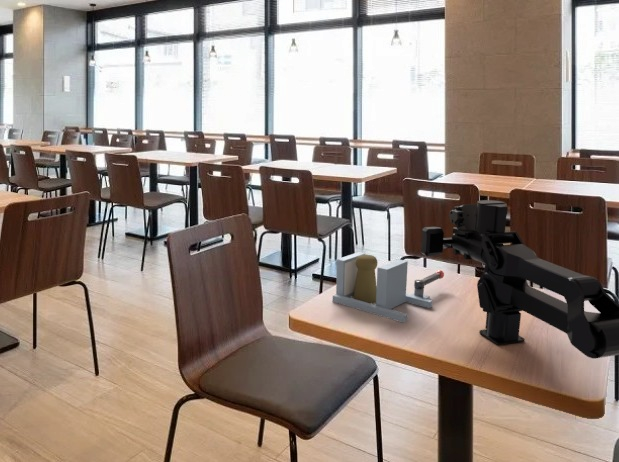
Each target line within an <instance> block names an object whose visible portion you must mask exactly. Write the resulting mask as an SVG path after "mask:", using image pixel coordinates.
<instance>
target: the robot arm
mask: <svg viewBox="0 0 619 462" xmlns="http://www.w3.org/2000/svg"><path fill="white" fill-rule="evenodd" d="M507 205H508V204H507V203H506V202H505V201H502V200H492V199H484V200H483V199H482V200H477V202H476V203H471V204H462V205H458V206H457V205H456V206H455V205H454V206H453V208H452V210H450V211H449V214H448V215H449V222H450V224H451V225H454V227H453V228H452V237H444V236H445V233H444V230H443V228H442V227H439V226H425V227H423V228H422V229H421V243H420V245H421V246H420V253H421V254H422V255H423V256H425V257H434V256H441V255H442V253H444V249H452V254H454V255H455V256H457V255H463V259H464V260H474V261H477V262H480V263H481V264H484V272H482V273H481V275H480V277H479V279H478V280H477V284H476V288H477V289H476V290H477V294H478V302H479V303H478V304H479V308H481V309H482V311H483V312H484V313H486V317H485V329H480V330H478V331H479V334H480V335H482V336H483V337H485V338H487V340H489V341H491V342H492V343H494V344H495V345H496V346H497V345H498V346H503V345H508V344H509V345H510V344H516V343H524V342H525V341H526V338H524V337H522V336H521V335H520V327H521V326H520V325H521V318H522V313H521V312H524V313H527V314H529V315H530V316H532V317H534V318H536V319H538V320H539V321H543V322H544V323H546V324H547V325H549V326H552V327H553V328H555V329H558V330H559V331H560V332H563V333H565V335H566V336H567V337H568V339H569V342H570V344H571V346H573V347H574V348H575V349H577V350H578V351H579V352H580V353H582V354H583V355H584V356H586V357H588V358H590V359H593V360H594V359H601V358H606V357H612V356H618V355H619V303H618V302H617V301H616V300H614V299H613V298H612V297H611V296H610V295H609V294H608V293H607V292H606V290H605V289H604V287H603V285H602V284H601V282H600V280H599V279H598V278H596V277H594V276H591V275H585V274H582V273H579V272H576V271H574V270H571V269H569V268H566V267H564V266H560V265H559V264H555V263H552V262H550V261H548V260H544V259H542V258H540V257H538V256H537V254H536V252H535V251H534V250H533V249H531V248H530V247H528V246H527V245H525V243H524V242H523V240H522V238H521V237H520V235H519V233H518V232H517V231H516V230H513V231H508V230H506V224H507V216H508V212H509V211H508V210H509V207H508V206H507ZM528 282H530V283H532V284H534V285H537V286H539V287H542V288H544V289H546V290H548V291H550V292H553V293H555V294H557V295H560V296H562V297H564V300H565V301H563V300H561V299H559V298H557V297H554V296H552V295H550V294H548V293H545V292H544V291H541V290H539V289H537V288H534V287H532V286H531V285H529V283H528ZM585 302H588V303H589V304H590V305H591V306H592V307H593V308H595V309H596V310H597V311H598V312H592V311H587V310H586V311H585Z"/></svg>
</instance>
